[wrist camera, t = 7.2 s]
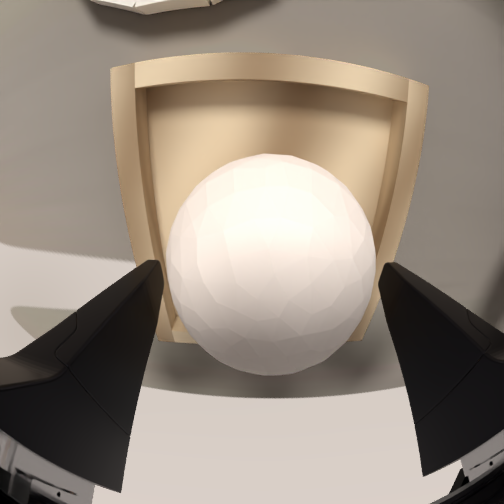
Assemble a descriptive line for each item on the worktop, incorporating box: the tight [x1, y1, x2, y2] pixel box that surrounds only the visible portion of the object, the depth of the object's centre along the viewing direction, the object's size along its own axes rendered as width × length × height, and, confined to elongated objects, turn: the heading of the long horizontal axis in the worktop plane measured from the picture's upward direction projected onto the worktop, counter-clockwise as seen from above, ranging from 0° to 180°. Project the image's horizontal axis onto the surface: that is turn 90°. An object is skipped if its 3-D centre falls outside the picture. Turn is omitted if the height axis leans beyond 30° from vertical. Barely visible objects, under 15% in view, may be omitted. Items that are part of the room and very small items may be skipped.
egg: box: [166, 154, 376, 376], centre depth 8 cm, size 6×6×8 cm
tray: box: [111, 53, 429, 344], centre depth 12 cm, size 12×14×2 cm
